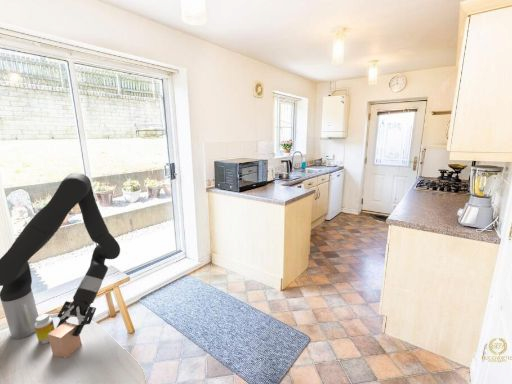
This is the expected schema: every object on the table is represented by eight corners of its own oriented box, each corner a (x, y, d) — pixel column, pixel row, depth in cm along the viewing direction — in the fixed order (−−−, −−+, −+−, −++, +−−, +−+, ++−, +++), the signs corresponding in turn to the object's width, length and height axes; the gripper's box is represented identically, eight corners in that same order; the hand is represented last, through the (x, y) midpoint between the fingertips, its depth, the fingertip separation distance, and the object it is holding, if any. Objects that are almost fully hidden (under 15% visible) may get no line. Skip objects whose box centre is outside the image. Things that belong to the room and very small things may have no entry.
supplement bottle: (56, 339, 102) (51, 317, 99) (38, 346, 98) (32, 324, 96) (56, 331, 106) (51, 310, 103) (38, 338, 102) (33, 316, 100)
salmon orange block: (52, 354, 95) (47, 334, 93) (69, 341, 101) (65, 321, 99) (65, 358, 93) (60, 337, 91) (81, 344, 99) (77, 325, 97)
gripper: (67, 284, 103) (44, 329, 95) (95, 290, 99) (72, 337, 91) (82, 288, 109) (61, 330, 101) (108, 293, 105) (88, 338, 97)
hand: (66, 333), depth 96 cm, fingers open, 8 cm apart
